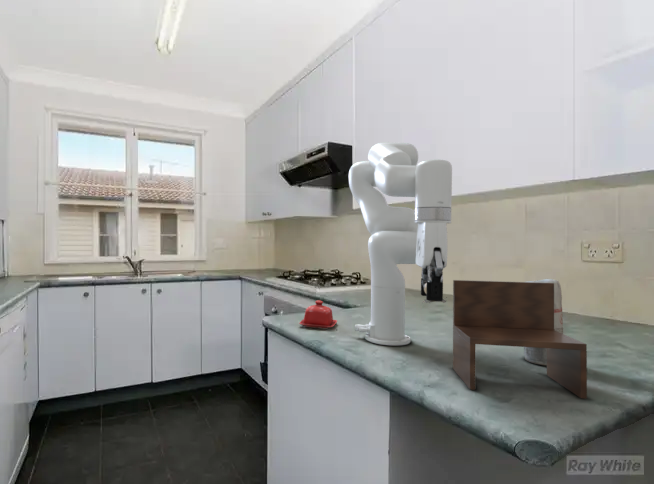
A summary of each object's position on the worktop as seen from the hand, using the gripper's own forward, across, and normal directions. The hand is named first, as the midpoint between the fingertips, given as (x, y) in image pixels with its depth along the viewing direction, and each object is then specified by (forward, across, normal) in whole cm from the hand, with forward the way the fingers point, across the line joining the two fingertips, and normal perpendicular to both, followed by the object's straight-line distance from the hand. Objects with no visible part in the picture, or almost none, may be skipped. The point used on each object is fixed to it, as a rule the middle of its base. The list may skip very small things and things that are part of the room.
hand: (431, 297), depth 83 cm
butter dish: (+18, -38, -28) cm, 50 cm away
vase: (+1, 0, 0) cm, 1 cm away
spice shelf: (+16, +4, +15) cm, 22 cm away
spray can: (+16, -12, +28) cm, 35 cm away
